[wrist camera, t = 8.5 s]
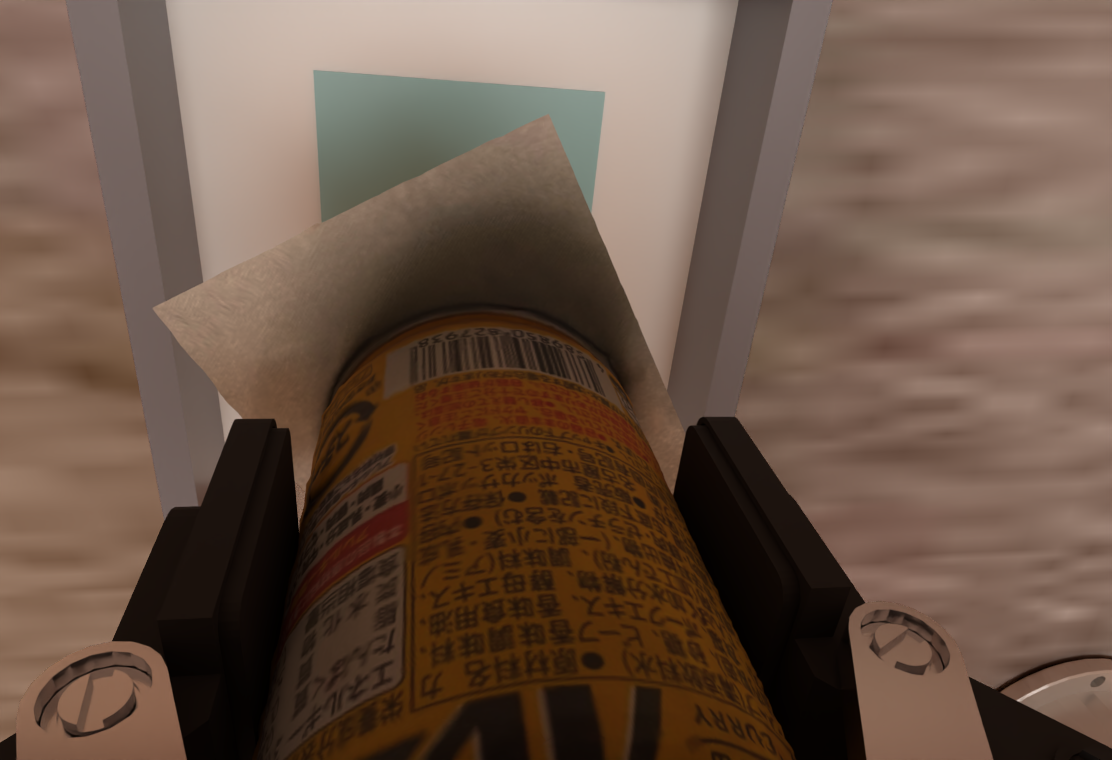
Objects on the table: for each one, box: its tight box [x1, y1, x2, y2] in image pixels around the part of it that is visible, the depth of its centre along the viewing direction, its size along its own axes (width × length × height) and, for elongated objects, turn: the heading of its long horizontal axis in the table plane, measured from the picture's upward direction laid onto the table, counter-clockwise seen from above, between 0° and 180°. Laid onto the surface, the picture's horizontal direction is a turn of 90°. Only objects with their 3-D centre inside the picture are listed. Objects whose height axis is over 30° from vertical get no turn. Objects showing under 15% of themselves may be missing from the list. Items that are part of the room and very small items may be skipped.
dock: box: [66, 0, 833, 521], centre depth 23 cm, size 18×18×6 cm
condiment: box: [153, 114, 796, 760], centre depth 10 cm, size 7×8×12 cm
